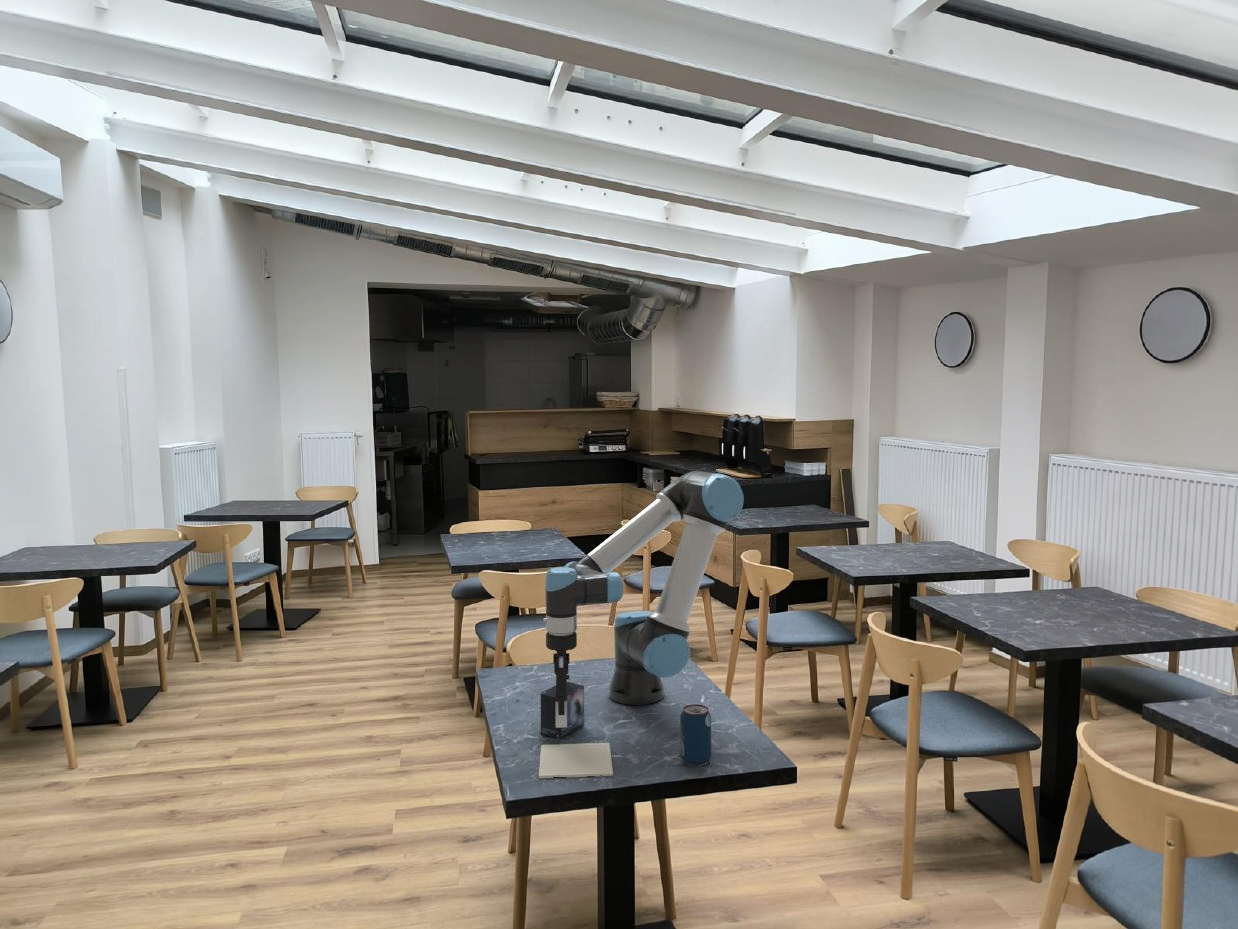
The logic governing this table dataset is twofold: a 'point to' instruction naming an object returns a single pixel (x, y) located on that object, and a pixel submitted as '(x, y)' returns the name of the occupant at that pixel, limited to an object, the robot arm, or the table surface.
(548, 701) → the small box
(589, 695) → the table surface
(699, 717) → the soda can
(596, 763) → the mat
